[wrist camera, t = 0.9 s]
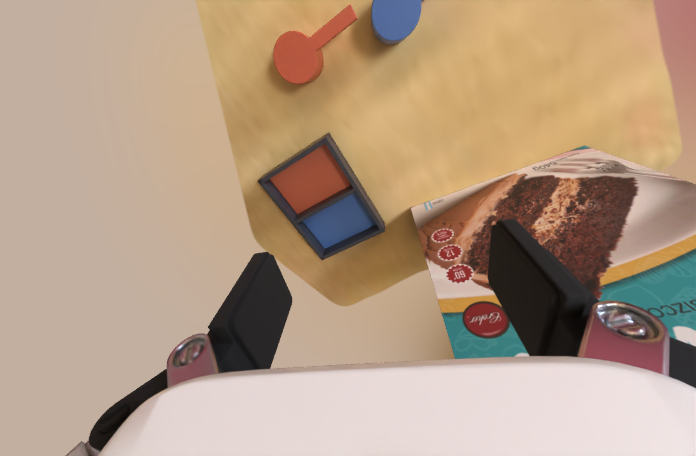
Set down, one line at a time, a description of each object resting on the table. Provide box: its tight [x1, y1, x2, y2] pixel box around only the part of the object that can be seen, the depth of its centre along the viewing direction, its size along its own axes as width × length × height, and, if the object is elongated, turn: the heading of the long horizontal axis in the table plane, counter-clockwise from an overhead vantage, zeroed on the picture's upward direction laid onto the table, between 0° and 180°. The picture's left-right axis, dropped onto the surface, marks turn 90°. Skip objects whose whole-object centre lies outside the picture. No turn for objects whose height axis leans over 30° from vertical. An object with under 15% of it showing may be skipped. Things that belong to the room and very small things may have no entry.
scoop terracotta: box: [273, 4, 357, 84], centre depth 26 cm, size 4×9×4 cm, turn 122°
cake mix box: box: [411, 146, 696, 359], centre depth 23 cm, size 22×6×30 cm, turn 115°
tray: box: [258, 133, 385, 260], centre depth 37 cm, size 15×11×2 cm
